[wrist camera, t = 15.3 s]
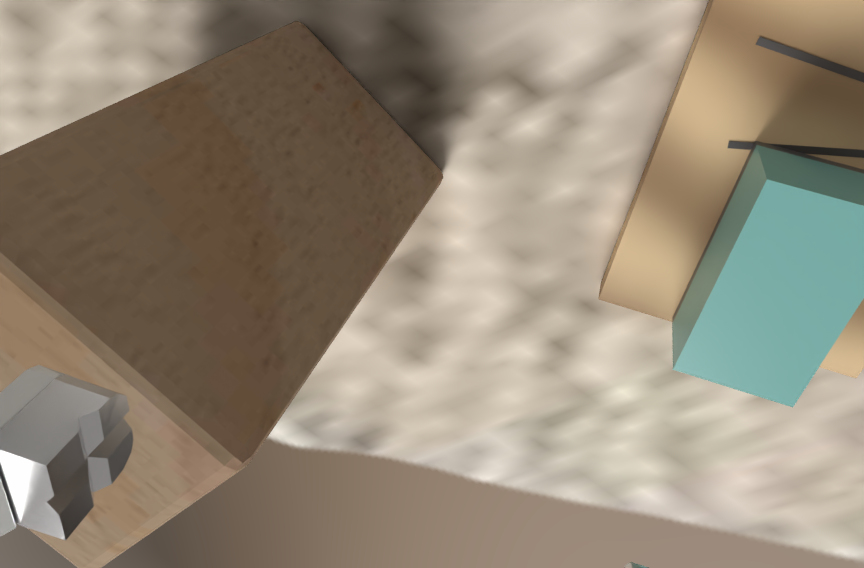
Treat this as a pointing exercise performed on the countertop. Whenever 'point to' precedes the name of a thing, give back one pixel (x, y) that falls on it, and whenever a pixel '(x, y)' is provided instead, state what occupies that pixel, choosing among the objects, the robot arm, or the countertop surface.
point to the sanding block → (775, 276)
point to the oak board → (742, 139)
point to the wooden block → (200, 260)
